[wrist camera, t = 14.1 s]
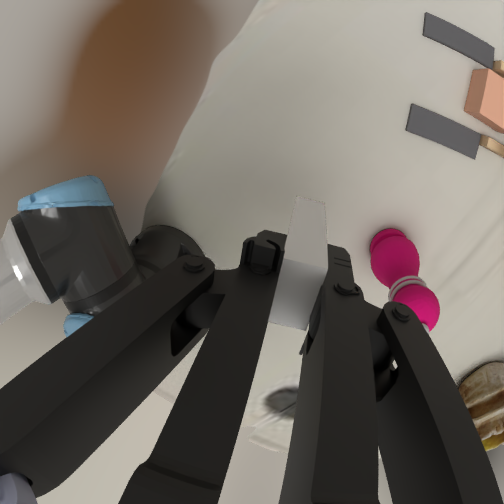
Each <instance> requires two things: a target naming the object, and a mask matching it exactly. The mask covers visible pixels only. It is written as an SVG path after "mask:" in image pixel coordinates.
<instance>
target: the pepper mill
mask: <svg viewBox="0 0 504 504" xmlns="http://www.w3.org/2000/svg"><path fill="white" fill-rule="evenodd" d="M370 252H371V268H372V270H373V273H374V275H375V277H376V278H377V279H378V280H379V281H380V282H381V283H382V284H384V285H385V286H387V287H389V289H390V291H389V294H388V298H389V302H391V301H396V302H401V303H403V304H405V305H407V306H408V307H409V308H411V309H412V310H413V311H414V312H415V313H416V315H417V316H418V318H419V320H420V321H421V323H422V325H423V326H424V328H425V330H426V331H427V333H428V335H429V332H430V331H431V330H432V329H433V328H434V327H435V325H436V323H437V321H438V319H439V314H440V307H439V302H438V299H437V297H436V296H435V294H434V293H433V292H432V291H431V290H430V289H428V288H427V286H426V283H425V282H424V281H423V280H422V279H421V278H420V277H418V272H419V266H420V262H419V254H418V252H417V249H416V247H415V245H414V244H413V243H412V242H411V241H410V240H408V239H407V238H406V236H405V235H404V234H403V233H402V232H401V231H399V230H396V229H385V230H382V231H381V232H379V233H378V234H377V235H376V236H375V237H374V238H373V240H372V242H371V245H370Z"/></svg>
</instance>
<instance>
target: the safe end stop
mask: <svg viewBox="0 0 504 504" xmlns="http://www.w3.org/2000/svg"><path fill="white" fill-rule="evenodd" d="M492 71H493V72H495V73H496V74H498V75H500V76H501V77H503V78H504V62H503V61H502V60H500V61H493V70H492ZM479 145H481V146H483V147H485V148H487V149H489V150H490V151H492V152H494V153H496V154H498V155H499V156H501V157H503V158H504V145H502V144H500V143H499V142H497V141H495V140H493V139H491V138H490V137H487V136H483V135H481V138H480V142H479Z"/></svg>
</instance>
